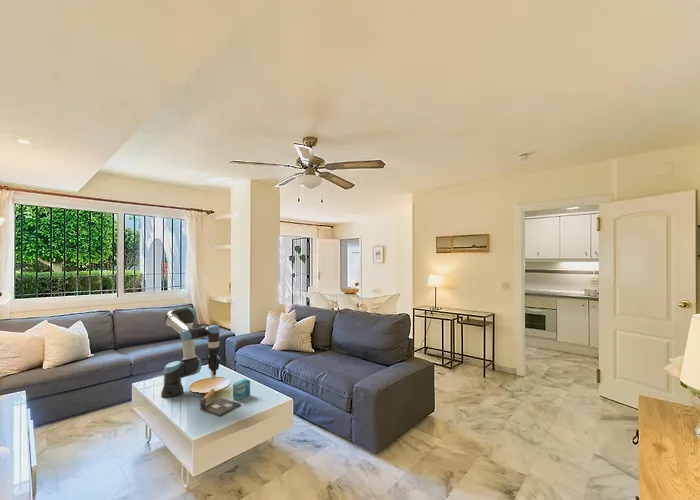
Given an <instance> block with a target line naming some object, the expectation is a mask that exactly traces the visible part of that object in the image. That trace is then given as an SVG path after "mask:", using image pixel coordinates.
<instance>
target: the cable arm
mask: <svg viewBox="0 0 700 500" xmlns="http://www.w3.org/2000/svg"><path fill="white" fill-rule="evenodd" d="M214 390H215V392H214ZM215 393H216V389H215V388H211V389H210V390H209V391H208V392H207V393H206V394H205V395H204V396H203V397H202V398H201V397H200V399H199V400H200V401H199V405H200V407H201V406H204V405H207V402H208V401H209V400H210V399H211V398H212V396H213V395H214V394H215Z"/></svg>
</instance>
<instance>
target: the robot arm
mask: <svg viewBox="0 0 700 500" xmlns="http://www.w3.org/2000/svg"><path fill="white" fill-rule="evenodd" d="M196 320H197V313H196V311H195V309H194V308H193V307H182V308H176V309H175V308H174V309H171V310H169V311H168V312H166V313H165V314H164V317H163V322H164V324H165V325H166V326H167V327H170V328H172V329H173V330H175V331H176V332H177V333H178V334H180V335H179V337H180V339H181V342H182V344H181V346H182V353H183V358H182V359H181V361H180V360H176V361H175V360H174V361H172V362H171V361H170V362H169V363H167V364H166V365H164V369H163V387H162V390H161V393H160V394H161V395H160V396H161V397H162V398H166V399H167V398H175V397H179V396H180V395H182V394H184V386H183V384H182V378H187V377H190V376H195V375H196V374H199V373H200V371H201V370H202V360H201V358H199V357H198V355H197V354H196V348H195V340H196V339H203V338H207V340H208V341H207V347H208V348H207V352H208V354H207V355H206V359H207V364H208V365H207V366H208V369H209V370H210V380H212V381H215V380H217V376H216V375H217V371H218V370H219V367H220V361H221V359H222V357H221V356H219V352H220V331H221V330H220V326H219V325H217V324H213V325H202V326H201V327H197V328H193V325H194V324H195V321H196Z"/></svg>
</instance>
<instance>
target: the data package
mask: <svg viewBox="0 0 700 500" xmlns="http://www.w3.org/2000/svg"><path fill="white" fill-rule="evenodd" d="M250 395H251V380H249V379H246V378H243V379H242V380H239V381H236V382H235V381H234V383H233V384H232V399H234V400H235V401H240V400H242V399H245V398H247V397H249V396H250Z"/></svg>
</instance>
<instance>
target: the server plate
mask: <svg viewBox="0 0 700 500" xmlns="http://www.w3.org/2000/svg"><path fill="white" fill-rule="evenodd" d="M241 406H242V404H241V403H239V402H235V401H233V400H230V399H225V398H223V397H221V398H219V399H217V400H214V401H212V402H210V403H208V404H206V405H204V406H200V408H199V410H200V411H201V412H202V411H203V412H206V413H208V414H210V415H211V414H212V415H214V416H217V417H221V416H224V415H225V414H227V413H230V412H231V411H233V410H235V409H236V408H239V407H241Z"/></svg>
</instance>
